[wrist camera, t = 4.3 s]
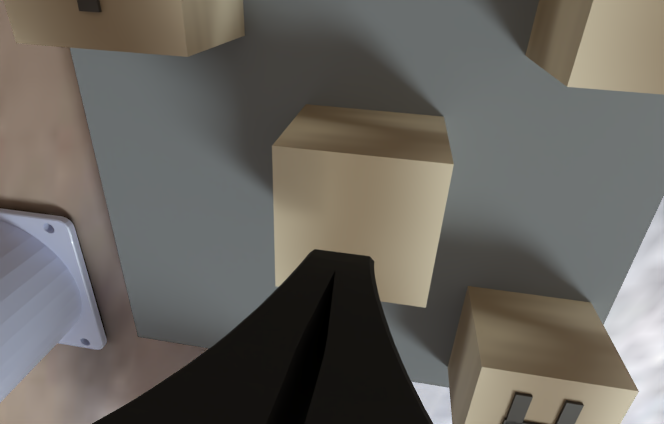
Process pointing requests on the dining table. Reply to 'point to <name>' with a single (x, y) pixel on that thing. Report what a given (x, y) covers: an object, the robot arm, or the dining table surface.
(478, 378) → the block four
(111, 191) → the mat
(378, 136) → the plain block
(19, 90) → the dining table surface
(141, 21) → the tan cube
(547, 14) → the block seven
